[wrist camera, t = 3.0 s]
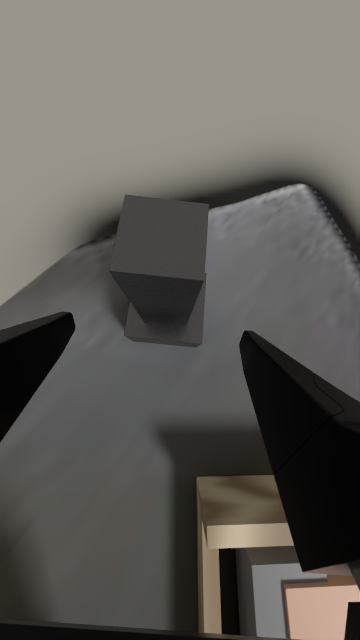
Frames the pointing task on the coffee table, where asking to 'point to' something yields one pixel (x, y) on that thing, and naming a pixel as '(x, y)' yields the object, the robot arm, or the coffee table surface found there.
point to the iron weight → (162, 269)
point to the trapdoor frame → (233, 530)
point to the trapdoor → (290, 596)
